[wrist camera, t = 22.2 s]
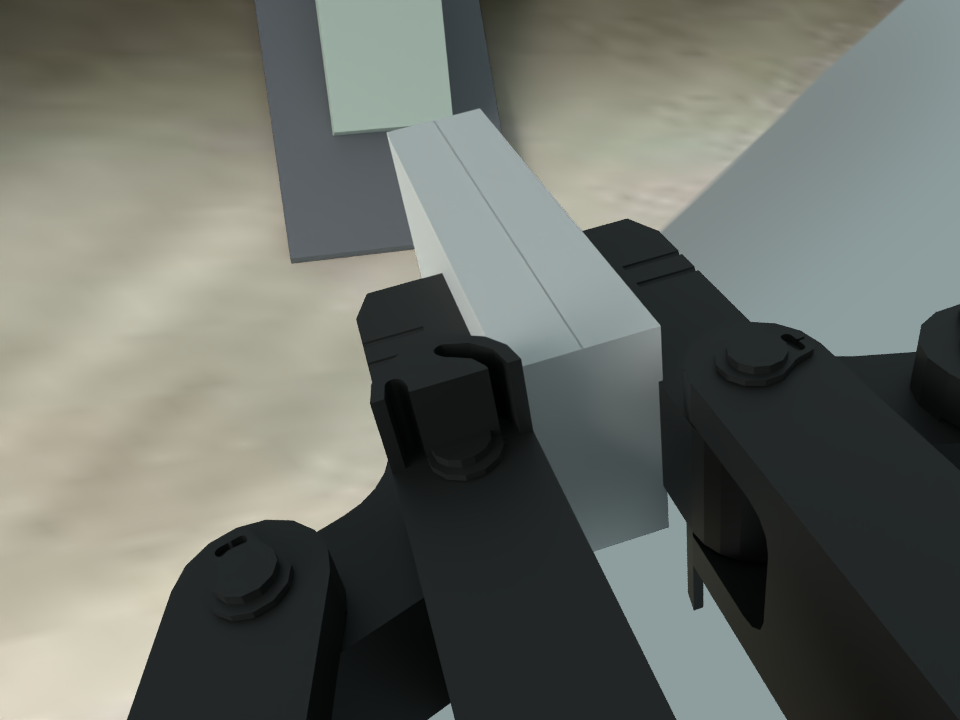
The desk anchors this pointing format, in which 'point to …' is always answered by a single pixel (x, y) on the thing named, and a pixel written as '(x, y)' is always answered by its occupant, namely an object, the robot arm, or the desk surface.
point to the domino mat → (353, 157)
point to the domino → (383, 63)
